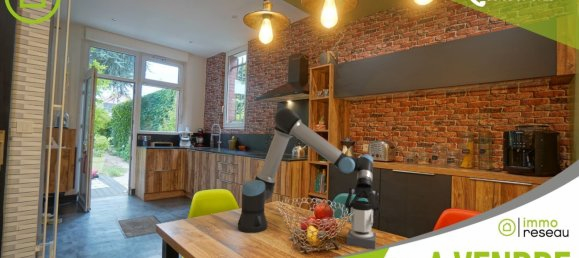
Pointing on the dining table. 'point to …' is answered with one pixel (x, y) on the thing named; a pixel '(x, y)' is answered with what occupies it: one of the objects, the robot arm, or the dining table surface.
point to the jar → (361, 216)
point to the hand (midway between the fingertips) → (361, 222)
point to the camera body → (361, 239)
